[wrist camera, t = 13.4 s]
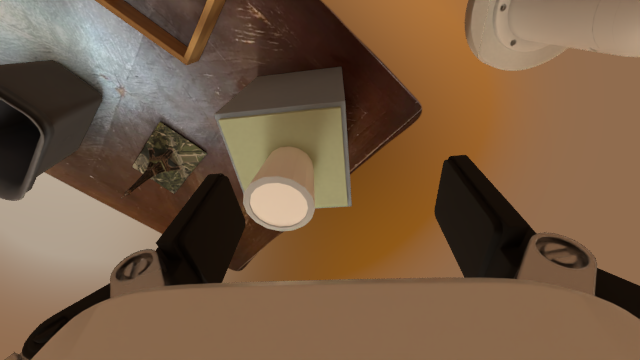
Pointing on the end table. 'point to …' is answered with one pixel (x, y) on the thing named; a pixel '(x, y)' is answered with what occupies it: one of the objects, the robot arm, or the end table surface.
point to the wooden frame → (155, 33)
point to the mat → (296, 131)
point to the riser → (291, 101)
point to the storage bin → (40, 121)
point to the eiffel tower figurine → (167, 159)
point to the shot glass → (282, 191)
